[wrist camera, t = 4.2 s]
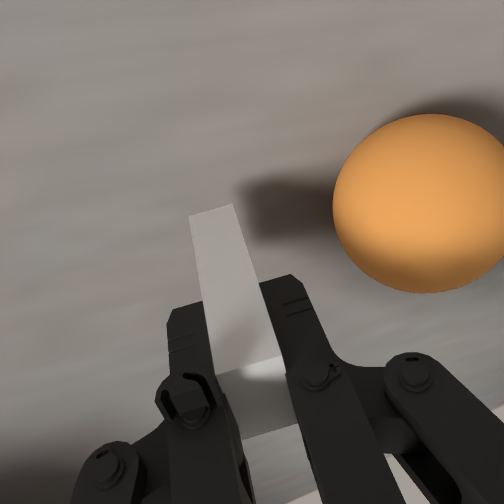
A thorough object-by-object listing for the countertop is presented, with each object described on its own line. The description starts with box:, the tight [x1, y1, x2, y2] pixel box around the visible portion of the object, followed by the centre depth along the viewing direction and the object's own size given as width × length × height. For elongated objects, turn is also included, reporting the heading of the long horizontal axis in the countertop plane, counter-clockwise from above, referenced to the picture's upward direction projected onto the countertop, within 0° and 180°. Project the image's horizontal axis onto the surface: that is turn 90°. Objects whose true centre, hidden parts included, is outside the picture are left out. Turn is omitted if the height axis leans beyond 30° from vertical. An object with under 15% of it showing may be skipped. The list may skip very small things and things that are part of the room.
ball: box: [333, 114, 504, 293], centre depth 16 cm, size 6×6×6 cm
